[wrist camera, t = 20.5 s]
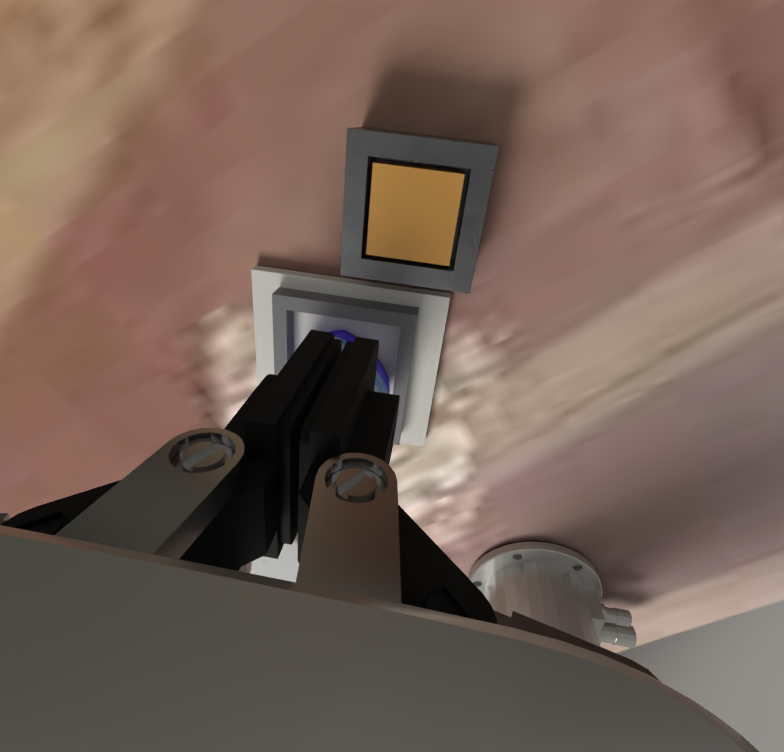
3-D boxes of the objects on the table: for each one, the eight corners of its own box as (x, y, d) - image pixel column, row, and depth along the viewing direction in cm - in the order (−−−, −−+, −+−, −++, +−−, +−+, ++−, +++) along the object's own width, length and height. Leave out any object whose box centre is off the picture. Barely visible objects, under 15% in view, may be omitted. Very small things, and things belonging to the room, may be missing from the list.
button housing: (493, 143, 27) (498, 146, 23) (468, 274, 31) (469, 293, 27) (361, 127, 27) (347, 128, 24) (353, 258, 31) (340, 275, 28)
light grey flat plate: (450, 293, 32) (449, 305, 29) (424, 439, 38) (422, 458, 36) (256, 265, 33) (242, 275, 30) (264, 413, 39) (252, 430, 37)
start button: (464, 170, 26) (464, 174, 24) (449, 257, 28) (449, 265, 27) (378, 159, 26) (372, 162, 24) (371, 246, 29) (366, 254, 27)
